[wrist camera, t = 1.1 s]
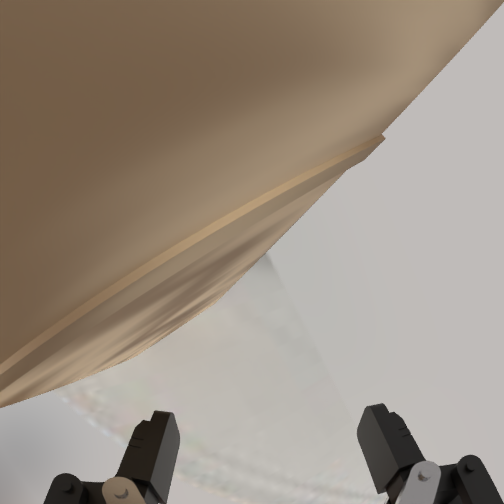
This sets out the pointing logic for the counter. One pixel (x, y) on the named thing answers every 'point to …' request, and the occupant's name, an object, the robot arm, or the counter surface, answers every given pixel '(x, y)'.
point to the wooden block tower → (179, 153)
